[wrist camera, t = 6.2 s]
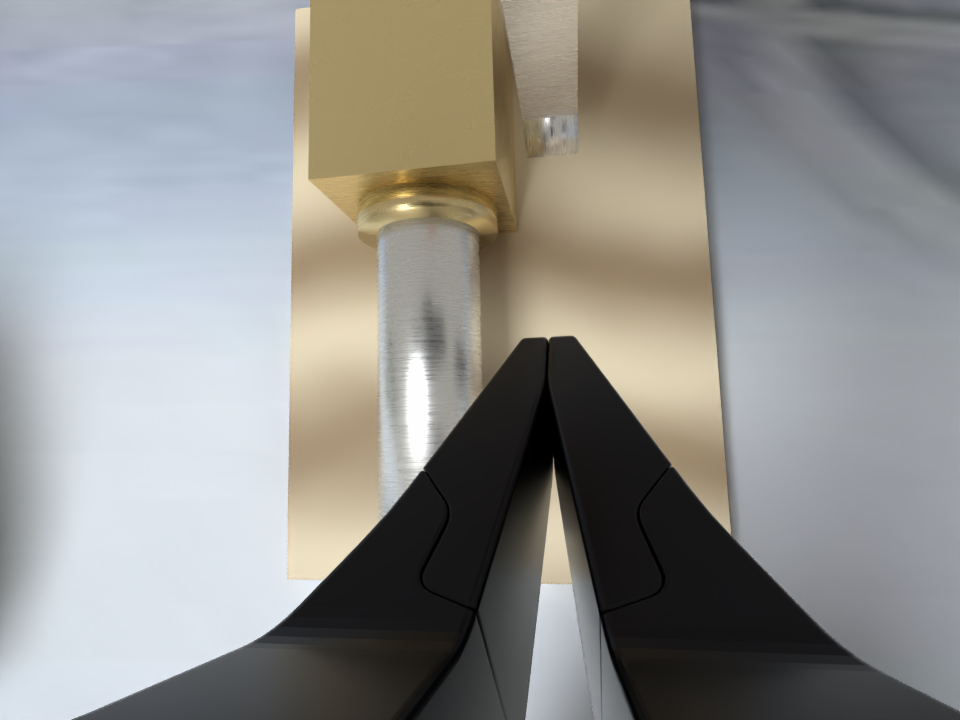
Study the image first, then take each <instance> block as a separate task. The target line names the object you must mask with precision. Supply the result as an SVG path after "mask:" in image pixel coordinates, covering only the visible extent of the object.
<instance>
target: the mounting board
mask: <svg viewBox="0 0 960 720" xmlns="http://www.w3.org/2000/svg"><path fill="white" fill-rule="evenodd" d="M498 2H499V7H500V12H501V18H502V23H503V29H504V34H505V40H506V45H507V50H508V56H509V61H510V67H511V72H512V87H513V115H514V144H515V172H516V201H517V229H518V232H517V233H505V234H498V235H497V238H496V240H495V241H494V242H493V243H491V244H490V245H488V246H486V247H484V248H482V249H480V250H479V261H480V299H481V337H482V375H483V389H484V388H485V386H486V385H487V384H488V382H489V381H490V380H491V379H492V377H493V376H494V375H495V373H496V372H497V371H498V369H499V368H500V367H501V365H502V364H503V363H504V362H505V360H506V359H507V358H508V356H509V355H510V354H511V352H512V351H513V350H514V348H515V347H516V346H517V345H518V343H519V342H520V341H521V340H522V339H523V338H534V337H545V338H547V339H548V341H549V339H550V338H551V337H554V336H574V337H576V338H577V340H578V341H579V342H580V344H581V345H582V346H583V348H584V349H585V350H586V352H587V353H588V354H589V355H590V357H591V358H592V359H593V361H594V362H595V363H596V365H597V366H598V367H599V369H600V370H601V371H602V373H603V374H604V375H605V377H606V378H607V379H608V381H609V382H610V383H611V385H612V386H613V387H614V389H615V390H616V391H617V392H618V394H619V395H620V396H621V398H622V399H623V400H624V402H625V403H626V404H627V406H628V407H629V408H630V410H631V411H632V412H633V414H634V415H635V416H636V418H637V419H638V420H639V422H640V423H641V424H642V426H643V427H644V428H645V430H646V431H647V432H648V433H649V435H650V436H651V437H652V439H653V440H654V441H655V443H656V444H657V445H658V447H659V448H660V449H661V451H662V452H663V453H664V455H665V456H666V457H667V459H668V460H669V461H670V463H671V464H672V467H674V468H675V469H676V470H677V471H678V473H679V474H680V475H681V477H682V478H683V479H684V481H685V482H686V483H687V485H688V486H689V487H690V488H691V490H692V491H693V492H694V493H695V495H696V496H697V497H698V498H699V500H700V501H701V502H702V503H703V504H704V506H705V507H706V508H707V509H708V511H709V512H710V513H711V514H712V515H713V516H714V517H715V518H716V520H717V521H718V522H719V523H720V524H721V525H722V526H723V527H724V528H725V529H726V530H727V531H728V532H729V534H730V535H731V527H730V514H729V501H728V488H727V475H726V462H725V449H724V436H723V424H722V411H721V398H720V385H719V372H718V359H717V346H716V333H715V320H714V307H713V294H712V281H711V268H710V255H709V242H708V229H707V216H706V203H705V191H704V178H703V165H702V152H701V139H700V126H699V113H698V100H697V87H696V74H695V61H694V48H693V35H692V22H691V9H690V0H578V153H576V154H566V155H556V156H547V157H537V158H527V154H526V147H525V139H524V129H523V119H522V114H521V108H520V102H519V97H518V91H517V85H516V80H515V74H514V68H513V63H512V57H511V51H510V46H509V40H508V35H507V29H506V23H505V18H504V12H503V6H502V1H501V0H498ZM309 70H310V7H308V8H302V9H296V14H295V81H294V147H293V214H292V281H291V348H290V414H289V481H288V548H287V579H300V580H324V579H325V578H326V577H327V576H328V575H329V574H330V573H331V572H332V571H333V570H334V569H335V568H336V567H337V566H338V565H339V564H340V563H341V562H342V561H343V559H344V558H345V557H346V556H347V555H348V554H349V553H350V552H351V551H352V550H353V549H354V548H355V547H356V546H357V545H358V544H359V543H360V542H361V541H362V540H363V539H364V538H365V536H366V535H367V534H368V533H369V532H370V531H371V530H372V529H373V528H374V527H375V526H376V524H377V523H378V341H377V249H375V248H372V247H370V246H368V245H366V244H365V243H363V242H362V241H361V240H360V239H359V237H358V234H357V224H356V223H354V222H353V221H352V220H351V219H350V218H349V217H348V216H347V215H346V214H345V213H344V212H343V211H342V210H340V209H339V208H338V207H337V206H336V205H335V204H334V203H333V202H332V201H331V200H330V199H329V198H327V197H326V196H325V195H324V194H323V193H322V192H321V191H320V190H319V189H318V188H317V187H316V186H315V185H313V184H312V183H311V182H310V181H309V180H308V156H309ZM541 584H572V579H571V573H570V567H569V560H568V554H567V548H566V542H565V535H564V529H563V523H562V516H561V510H560V504H559V498H558V491H557V485H556V477H555V469H554V458H553V479H552V489H551V498H550V506H549V515H548V524H547V533H546V542H545V550H544V559H543V568H542V577H541Z"/></svg>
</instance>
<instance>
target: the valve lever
mask: <svg viewBox="0 0 960 720" xmlns="http://www.w3.org/2000/svg"><path fill="white" fill-rule="evenodd" d="M501 1H502V6H503V12H504V18H505V23H506V29H507V35H508V40H509V46H510V51H511V57H512V63H513V68H514V74H515V80H516V85H517V91H518V97H519V102H520V108H521V114H522V119H523V129H524V139H525V147H526V154H527V158H537V157H547V156H556V155H566V154H576V153H578V0H501Z"/></svg>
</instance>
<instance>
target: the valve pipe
mask: <svg viewBox="0 0 960 720" xmlns="http://www.w3.org/2000/svg"><path fill="white" fill-rule="evenodd" d="M308 180H309V181H310V182H311V183H312V184H313V185H315V186H316V187H317V188H318V189H319V190H320V191H321V192H322V193H323V194H324V195H325V196H326V197H327V198H329V199H330V200H331V201H332V202H333V203H334V204H335V205H336V206H337V207H338V208H339V209H340V210H342V211H343V212H344V213H345V214H346V215H347V216H348V217H349V218H350V219H351V220H352V221H353V222H354V223H356V224H357V234H358V237H359V239H360V240H361V241H362V242H363V243H365V244H366V245H368V246H370V247H372V248H375V249H377V341H378V522H379V521H380V520H381V519H382V518H383V517H384V516H385V515H386V514H387V512H388V511H389V510H390V509H391V508H392V506H393V505H394V504H395V503H396V501H397V500H398V499H399V498H400V496H401V495H402V494H403V493H404V492H405V490H406V489H407V488H408V487H409V485H410V484H411V483H412V481H413V480H414V479H415V477H416V476H417V475H418V474H419V472H420V471H423V468H424V466H425V465H426V463H427V462H428V461H429V460H430V458H431V457H432V456H433V454H434V453H435V452H436V450H437V449H438V448H439V446H440V445H441V444H442V443H443V441H444V440H445V439H446V437H447V436H448V435H449V433H450V432H451V431H452V429H453V428H454V427H455V426H456V424H457V423H458V422H459V420H460V419H461V418H462V416H463V415H464V414H465V412H466V411H467V410H468V409H469V407H470V406H471V405H472V403H473V402H474V401H475V399H476V398H477V397H478V396H479V394H480V393H481V392H482V390H483V375H482V337H481V299H480V261H479V250H480V249H482V248H484V247H486V246H488V245H490V244H491V243H493V242H494V241H495V240H496V238H497V235H498V234H505V233H517V232H518V229H517V201H516V172H515V144H514V115H513V87H512V72H511V67H510V61H509V56H508V50H507V45H506V40H505V34H504V29H503V23H502V18H501V12H500V7H499V2H498V0H310V70H309V156H308Z"/></svg>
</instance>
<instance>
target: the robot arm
mask: <svg viewBox="0 0 960 720" xmlns="http://www.w3.org/2000/svg"><path fill="white" fill-rule="evenodd" d="M553 458H554V469H555V477H556V485H557V491H558V498H559V504H560V510H561V516H562V523H563V529H564V535H565V542H566V548H567V554H568V560H569V567H570V573H571V579H572V586H573V592H574V598H575V605H576V611H577V617H578V623H579V630H580V636H581V642H582V649H583V655H584V661H585V667H586V674H587V680H588V686H589V693H590V699H591V705H592V711H593V718H594V720H960V711H958V710H956V709H954V708H952V707H950V706H948V705H946V704H944V703H942V702H940V701H938V700H936V699H934V698H932V697H930V696H928V695H926V694H924V693H922V692H920V691H918V690H916V689H914V688H912V687H910V686H908V685H906V684H904V683H902V682H900V681H898V680H896V679H894V678H892V677H890V676H888V675H886V674H884V673H882V672H881V671H879V670H877V669H875V668H873V667H872V666H870V665H868V664H867V663H865V662H864V661H862V660H861V659H859V658H858V657H856V656H855V655H854V654H852V653H851V652H850V651H848V650H847V649H846V648H844V647H843V646H842V645H840V644H839V643H838V642H837V641H836V640H835V639H833V638H832V637H831V636H830V635H829V634H828V633H826V632H825V631H824V630H823V629H822V628H821V627H820V626H819V625H818V624H817V623H816V622H815V621H814V620H813V619H812V618H811V617H810V616H809V615H808V614H807V613H806V612H805V611H804V610H803V609H802V608H801V607H800V606H799V605H798V604H797V603H796V602H795V601H794V600H793V599H792V598H791V596H790V595H789V594H788V593H787V592H786V591H785V590H784V589H783V588H782V587H781V586H780V585H779V584H778V583H777V582H776V581H775V580H774V579H773V578H772V577H771V576H770V575H769V574H768V573H767V572H766V571H765V570H764V569H763V568H762V567H761V566H760V565H759V564H758V563H757V562H756V561H755V560H754V559H753V558H752V557H751V556H750V554H749V553H748V552H747V551H746V550H745V549H744V548H743V547H742V546H741V545H740V544H739V543H738V542H737V541H736V540H735V539H734V538H733V537H732V536H731V535H730V534H729V532H728V531H727V530H726V529H725V528H724V527H723V526H722V525H721V524H720V523H719V522H718V521H717V520H716V518H715V517H714V516H713V515H712V514H711V513H710V512H709V511H708V509H707V508H706V507H705V506H704V504H703V503H702V502H701V501H700V500H699V498H698V497H697V496H696V495H695V493H694V492H693V491H692V490H691V488H690V487H689V486H688V485H687V483H686V482H685V481H684V479H683V478H682V477H681V475H680V474H679V473H678V471H677V470H676V469H675V468H674V467H672V464H671V463H670V461H669V460H668V459H667V457H666V456H665V455H664V453H663V452H662V451H661V449H660V448H659V447H658V445H657V444H656V443H655V441H654V440H653V439H652V437H651V436H650V435H649V433H648V432H647V431H646V430H645V428H644V427H643V426H642V424H641V423H640V422H639V420H638V419H637V418H636V416H635V415H634V414H633V412H632V411H631V410H630V408H629V407H628V406H627V404H626V403H625V402H624V400H623V399H622V398H621V396H620V395H619V394H618V392H617V391H616V390H615V389H614V387H613V386H612V385H611V383H610V382H609V381H608V379H607V378H606V377H605V375H604V374H603V373H602V371H601V370H600V369H599V367H598V366H597V365H596V363H595V362H594V361H593V359H592V358H591V357H590V355H589V354H588V353H587V352H586V350H585V349H584V348H583V346H582V345H581V344H580V342H579V341H578V340H577V338H576V337H574V336H554V337H551V338H550V339H549V341H548V339H547V338H545V337H534V338H523V339H522V340H521V341H520V342H519V343H518V345H517V346H516V347H515V348H514V350H513V351H512V352H511V354H510V355H509V356H508V358H507V359H506V360H505V362H504V363H503V364H502V365H501V367H500V368H499V369H498V371H497V372H496V373H495V375H494V376H493V377H492V379H491V380H490V381H489V382H488V384H487V385H486V386H485V388H484V389H483V390H482V392H481V393H480V394H479V396H478V397H477V398H476V399H475V401H474V402H473V403H472V405H471V406H470V407H469V409H468V410H467V411H466V412H465V414H464V415H463V416H462V418H461V419H460V420H459V422H458V423H457V424H456V426H455V427H454V428H453V429H452V431H451V432H450V433H449V435H448V436H447V437H446V439H445V440H444V441H443V443H442V444H441V445H440V446H439V448H438V449H437V450H436V452H435V453H434V454H433V456H432V457H431V458H430V460H429V461H428V462H427V463H426V465H425V466H424V468H423V471H420V472H419V474H418V475H417V476H416V477H415V479H414V480H413V481H412V483H411V484H410V485H409V487H408V488H407V489H406V490H405V492H404V493H403V494H402V495H401V496H400V498H399V499H398V500H397V501H396V503H395V504H394V505H393V506H392V508H391V509H390V510H389V511H388V512H387V514H386V515H385V516H384V517H383V518H382V519H381V520H380V521H379V522H378V523H377V524H376V526H375V527H374V528H373V529H372V530H371V531H370V532H369V533H368V534H367V535H366V536H365V538H364V539H363V540H362V541H361V542H360V543H359V544H358V545H357V546H356V547H355V548H354V549H353V550H352V551H351V552H350V553H349V554H348V555H347V556H346V557H345V558H344V559H343V561H342V562H341V563H340V564H339V565H338V566H337V567H336V568H335V569H334V570H333V571H332V572H331V573H330V574H329V575H328V576H327V577H326V578H325V579H324V580H323V581H322V582H321V583H320V584H319V585H318V586H317V587H316V589H315V590H314V591H313V592H312V593H311V594H310V595H309V596H308V597H307V598H306V599H305V600H304V601H303V602H302V603H301V604H300V605H299V606H298V607H297V608H296V609H295V610H294V611H293V612H292V613H291V614H290V615H289V616H288V617H286V618H285V619H284V620H283V621H282V622H280V623H279V624H278V625H277V626H276V627H274V628H273V629H272V630H270V631H269V632H267V633H266V634H265V635H263V636H262V637H260V638H258V639H257V640H255V641H253V642H251V643H250V644H247V645H245V646H243V647H241V648H239V649H237V650H234V651H232V652H230V653H227V654H225V655H223V656H220V657H218V658H216V659H213V660H211V661H209V662H206V663H204V664H202V665H199V666H197V667H195V668H192V669H190V670H188V671H185V672H183V673H181V674H178V675H176V676H174V677H171V678H169V679H167V680H164V681H162V682H160V683H157V684H155V685H153V686H150V687H148V688H146V689H143V690H141V691H139V692H136V693H134V694H132V695H129V696H127V697H125V698H122V699H120V700H118V701H115V702H113V703H111V704H108V705H106V706H104V707H101V708H99V709H97V710H94V711H92V712H90V713H87V714H85V715H82V716H79V717H77V718H74V719H72V720H525V718H526V709H527V700H528V691H529V682H530V674H531V665H532V656H533V647H534V638H535V630H536V621H537V612H538V603H539V594H540V586H541V577H542V568H543V559H544V550H545V542H546V533H547V524H548V515H549V506H550V498H551V489H552V479H553Z"/></svg>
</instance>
